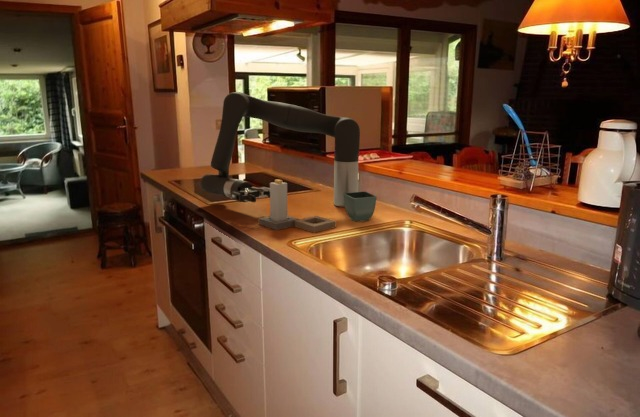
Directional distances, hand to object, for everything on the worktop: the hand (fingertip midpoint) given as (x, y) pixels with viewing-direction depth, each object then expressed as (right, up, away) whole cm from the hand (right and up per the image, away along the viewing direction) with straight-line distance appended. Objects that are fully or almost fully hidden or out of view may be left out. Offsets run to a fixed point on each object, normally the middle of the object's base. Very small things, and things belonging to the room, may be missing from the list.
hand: (265, 197), depth 164 cm
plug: (+5, -9, -3) cm, 11 cm away
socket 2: (+17, -10, -6) cm, 20 cm away
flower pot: (+32, -8, +3) cm, 33 cm away
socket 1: (+5, -9, -3) cm, 11 cm away
